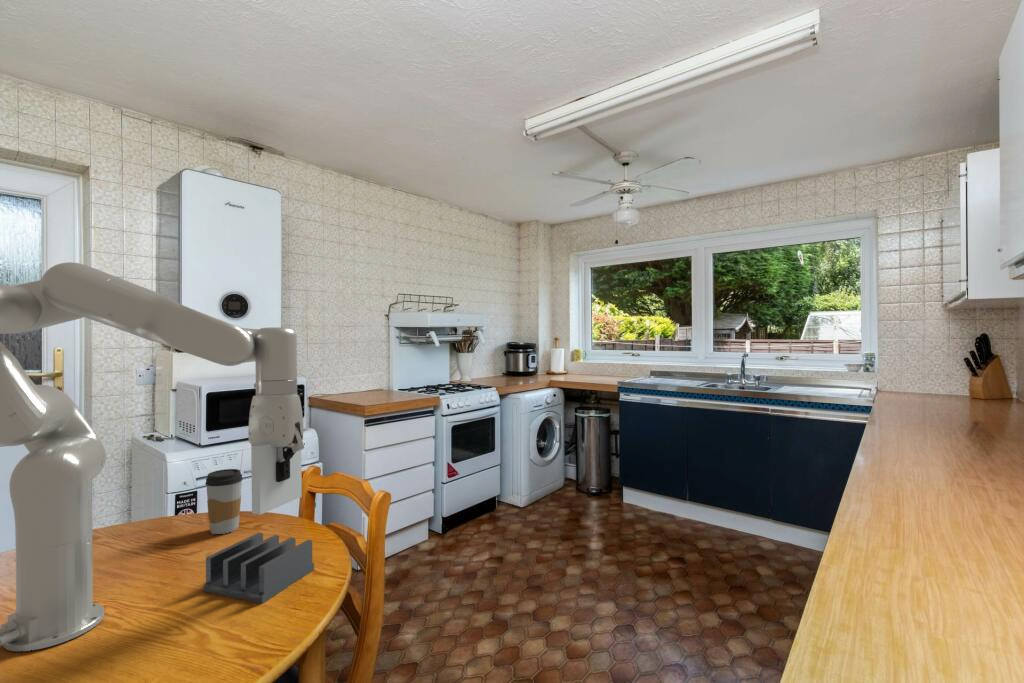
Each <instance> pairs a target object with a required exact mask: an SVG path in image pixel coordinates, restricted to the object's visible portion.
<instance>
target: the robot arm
mask: <svg viewBox="0 0 1024 683" xmlns="http://www.w3.org/2000/svg"><path fill="white" fill-rule="evenodd" d="M82 318H85V319H88V320H91V321H94V322H97V323H100V324H104V325H106V326H108V327H112V328H113V329H114V328H115V329H118V330H120V331H122V332H125V333H128V334H131V335H134V336H136V337H139V338H142V339H145V340H146V341H151V342H155V343H158V344H161V345H165V346H167V347H169V348H172V349H175V350H178V351H180V352H183V353H186V354H188V355H192V356H194V357H198V358H200V359H204V360H206V361H209V362H212V363H215V364H217V365H221V366H226V367H234V366H238V365H241V364H244V363H251V362H255V363H254V364H255V383H254V384H253V388H254V389H255V395H253V396H252V398H251V403H250V408H249V416H248V430H247V432H248V436H247V437H248V442H249V443H250V445H251V446H253V445H257V444H261V443H267V444H270V445H271V447H278V462H276V482H281V481H284V480H287V479H289V478H290V459H292V458H293V455H294V454H295V453H296V452H298V451H300V450H301V451H302V450H304V449H305V444H304V442H303V439H304V418H303V409H302V403H301V397H300V395H299V394H298V371H297V370H298V364H297V363H298V360H297V359H298V356H297V355H298V353H297V347H298V346H297V343H298V342H297V339H298V338H297V332H296V331H295V330H294V329H293V328H291V327H281V326H279V327H278V326H277V327H274V326H273V327H262V328H258V329H257V328H248V327H247V328H246V327H241V326H238V325H234V324H232V323H230V322H227V321H224V320H221V319H219V318H216V317H213V316H210V315H208V314H207V313H203V312H201V311H198V310H196V309H193V308H191V307H188V306H185V305H183V303H182V304H181V303H179V302H178V301H176V300H174V299H172V298H171V297H169V296H166V295H164V294H162V293H161V292H157V291H154V290H151V289H150V288H149V289H148V288H147V287H144V286H141V285H138V284H136V283H133V282H131V281H128V280H126V279H122V278H120V277H118V276H115V275H113V274H110V273H107V272H105V271H102V270H100V269H97V268H95V267H92V266H89V265H86V264H83V263H81V262H80V263H79V262H72V261H71V262H61V263H58V264H55V265H53V266H51V267H50V268H48V269H47V270H46V271H45V272H44V274H42V277H41V279H40V280H35V281H30V282H25V283H21V284H20V283H19V284H15V285H9V284H5V283H2V282H1V283H0V335H1V334H2V335H17V334H24V333H28V332H32V331H36V330H41V329H45V328H49V327H52V326H56V325H60V324H63V323H64V324H65V323H67V322H71V321H76V320H79V319H82ZM22 445H24V447H25V449H26V450H27V451H28V453H27V454H26V455H25V456H23V457H22V458H21V459H20V460H19V461H18V463H16V465H15V466H14V468H13V470H12V472H11V475H10V479H9V495H10V499H11V505H12V509H13V515H14V529H15V530H14V533H15V535H14V536H15V612H13V613H11V614H8V615H7V621H6V622H4V623H2V624H1V626H0V647H3V648H4V649H5V648H6V649H5V650H7V651H11V652H18V651H19V652H21V651H22V652H31V650H32V651H36V650H42V649H47V648H50V647H53V646H57V645H60V644H62V643H65V642H68V641H71V640H72V639H75V638H77V637H80V636H81V635H83V634H86V633H87V632H89V631H90V630H92V629H93V628H94V627H96V626H97V625H98V624H100V623H101V621H102V620H103V619H104V617H105V608H104V606H103V605H101V604H99V603H94V599H93V596H94V595H93V592H94V591H93V585H94V582H93V580H94V579H93V578H94V577H93V514H92V513H93V512H92V511H93V510H92V505H91V504H92V503H91V498H90V490H89V485H90V484H89V483H90V482H91V481H93V480H94V479H96V478H97V477H98V476H99V474H100V473H101V472H102V471H103V470H104V467H105V465H106V462H107V453H106V452H107V451H106V449H105V446H104V444H103V442H102V441H101V439H100V438H99V437H98V435H97V433H96V431H95V430H94V429H93V428H92V426H91V424H90V423H89V422H88V420H87V419H86V417H85V415H83V413H82V411H81V410H80V409H79V407H78V406H77V404H76V403H75V402H74V400H73V399H72V398H71V397H70V396H69V395H67V394H66V393H65V392H64V391H62V390H61V389H59V388H58V387H54V386H51V385H46V384H36V383H34V382H33V380H32V379H31V378H30V377H29V375H28V374H27V372H26V371H25V370H24V368H23V366H22V365H21V364H20V361H19V360H18V359H17V358H16V356H14V354H13V353H12V352H11V351H10V350H9V349H8V348H7V347H6V346H5V345H4V344H3V343H2V342H1V340H0V446H4V447H17V446H22ZM285 448H286V451H285Z"/></svg>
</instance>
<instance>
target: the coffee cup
mask: <svg viewBox="0 0 1024 683" xmlns="http://www.w3.org/2000/svg"><path fill="white" fill-rule="evenodd" d="M243 480H244V479H243V474H242V473H241V470H240V469H237V468H227V469H220V470H215V471H211V472H208V474H207V478H206V479H205V485H206V486H205V487H206V495H207V496H206V499H207V501H206V502H207V514H208V522H209V532H210V533H211V534H212V533H213V534H212V535H214V534H223V535H226V534H225V533H228V534H230V533H229V532H231V533H234V532H235V530H236V529H237V530H238V527H240V526H239V525H240V524H239V523H240V514H241V504H242V502H241V501H242V483H243ZM237 530H236V531H237ZM233 531H234V532H233Z"/></svg>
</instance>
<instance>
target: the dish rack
mask: <svg viewBox="0 0 1024 683" xmlns="http://www.w3.org/2000/svg"><path fill="white" fill-rule="evenodd" d="M311 571H312V572H313V571H315V562H313V540H312V539H311V540H310V539H307V540H305V541H303V542H301V543H300V544H297V545H296V537H292V536H291V537H289V538H287V539H285V540H284V541H281V542H280V535H278V534H274V535H271V536H270V537H267V538H266V539H264V533H263V532H256V533H255V534H252V535H251V536H249V537H246V538H244V539H242V540H240V541H238V542H236V543H234V544H231V545H229V546H227V547H225V548H223V549H222V550H221V549H220V550H219V551H217V552H215V553H213V554H210V555H208V556H206V557H205V583H203V592H204V593H207V592H209V594H212V593H213V594H214V595H217V594H218V596H223V597H228V598H232V599H237V600H242V601H247V602H252V603H258V604H264V603H265V602H268V600H270V599H272V598H273V597H275V596H277V595H278V594H279V593H281V592H283V591H284V590H286V589H287V588H289V587H291V584H292V585H293V584H295V583H296V582H297V580H298V581H299V580H301V579H302V578H304V577H306V576H307V575H309V574H310V573H311ZM300 578H301V579H300ZM294 582H295V583H294ZM288 586H289V587H288ZM213 594H212V595H213Z"/></svg>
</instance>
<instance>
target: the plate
mask: <svg viewBox="0 0 1024 683" xmlns="http://www.w3.org/2000/svg"><path fill="white" fill-rule="evenodd" d="M285 451H286V448H285ZM250 455H251V459H250V460H251V514H253V515H261V516H262V515H264V514H265V513H268V512H269V511H273V510H274V509H277V508H279V507H281V506H284V505H286V504H288V503H291V502H293V501H295V500H298V499H300V498H302V496H303V494H302V490H303V489H302V488H303V487H302V486H303V484H302V482H303V481H302V450H300V451H298V452H296V453H295V454H294V455H293V458H292V459H290V478H289V479H287V480H284V481H281V482H276V462H278V447H271V445H270V444H267V443H261V444H257V445H253V446H251V453H250Z"/></svg>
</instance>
